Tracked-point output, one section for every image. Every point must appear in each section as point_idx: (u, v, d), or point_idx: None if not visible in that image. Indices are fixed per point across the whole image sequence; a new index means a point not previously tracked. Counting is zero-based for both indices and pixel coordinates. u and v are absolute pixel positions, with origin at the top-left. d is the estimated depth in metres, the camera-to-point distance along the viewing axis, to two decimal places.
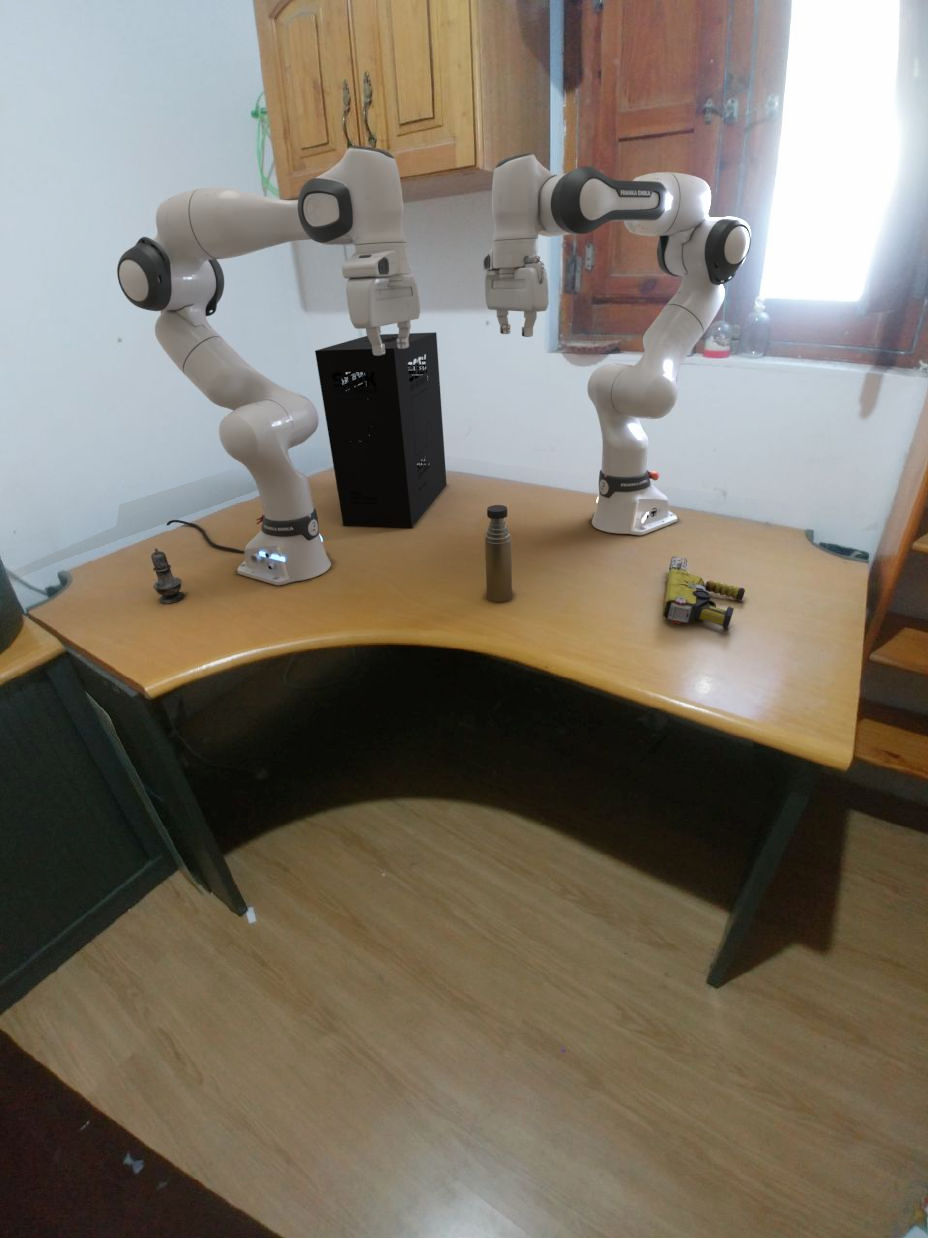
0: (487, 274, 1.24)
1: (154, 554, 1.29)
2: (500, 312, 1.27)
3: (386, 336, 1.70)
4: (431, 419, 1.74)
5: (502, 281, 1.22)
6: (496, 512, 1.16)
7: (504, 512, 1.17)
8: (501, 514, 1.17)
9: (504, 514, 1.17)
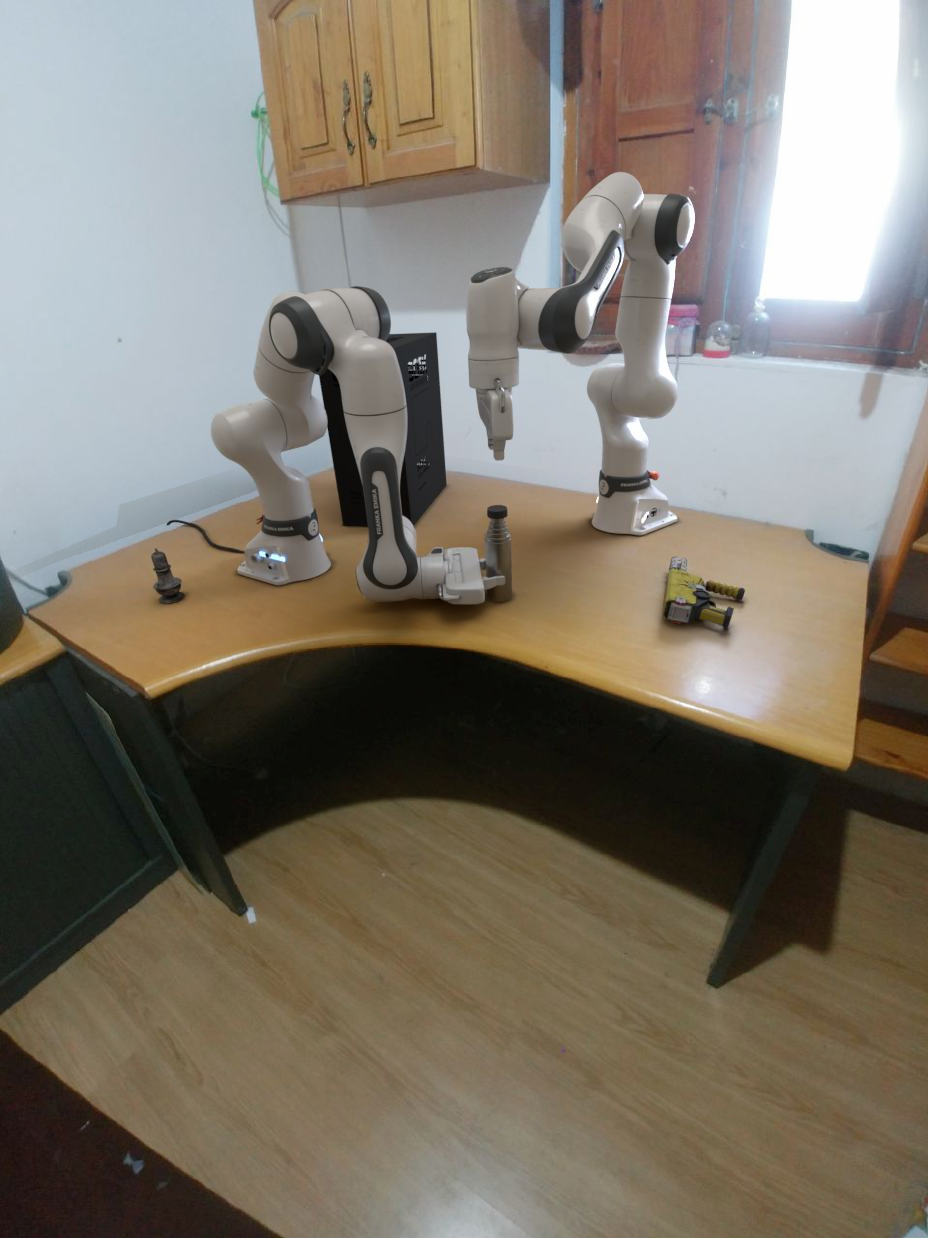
0: None
1: (154, 554, 1.29)
2: None
3: None
4: (431, 419, 1.74)
5: None
6: (496, 512, 1.16)
7: (504, 512, 1.17)
8: (501, 514, 1.17)
9: (504, 514, 1.17)
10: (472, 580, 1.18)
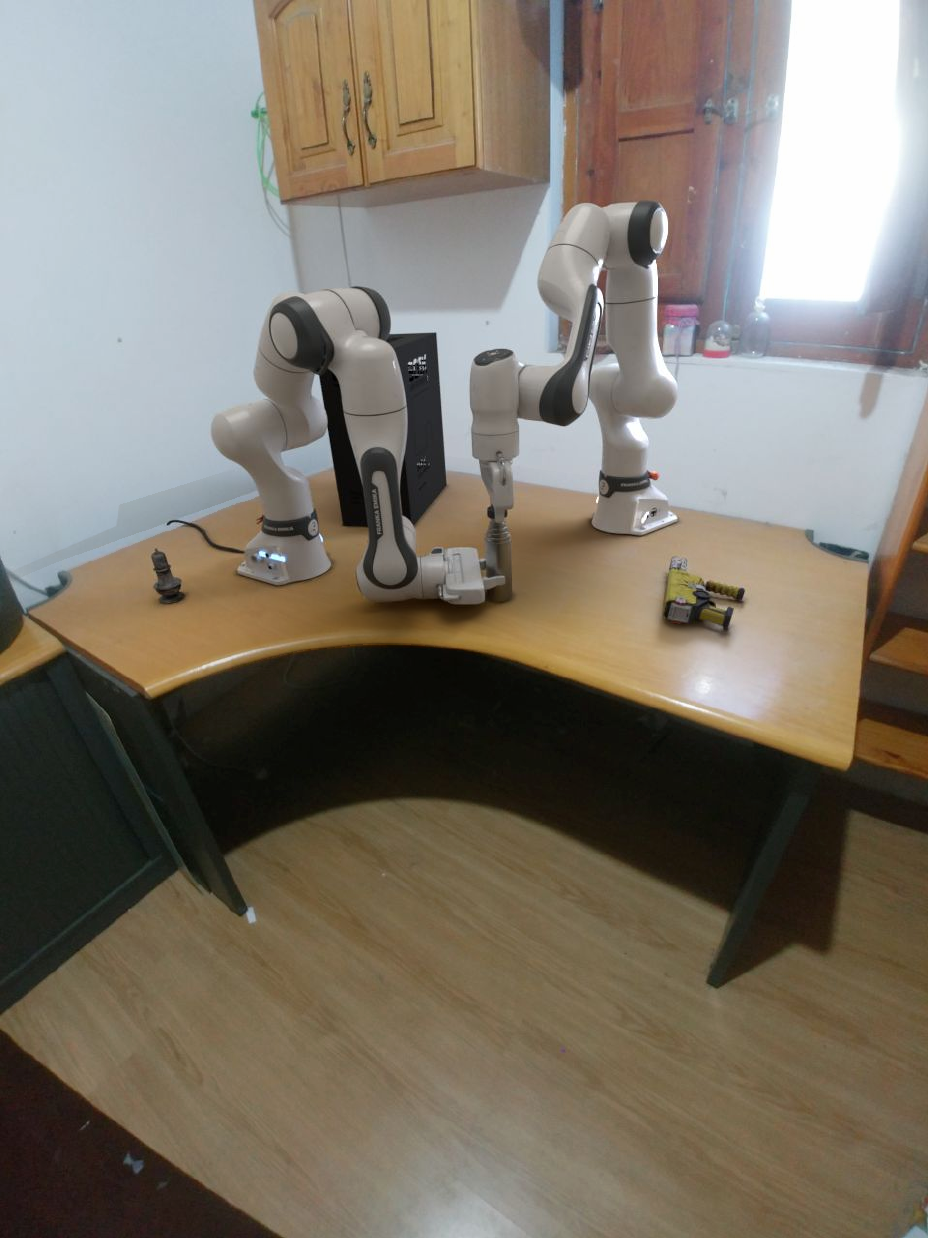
0: None
1: (154, 554, 1.29)
2: None
3: None
4: (431, 419, 1.74)
5: None
6: None
7: None
8: None
9: (504, 514, 1.17)
10: (472, 580, 1.18)
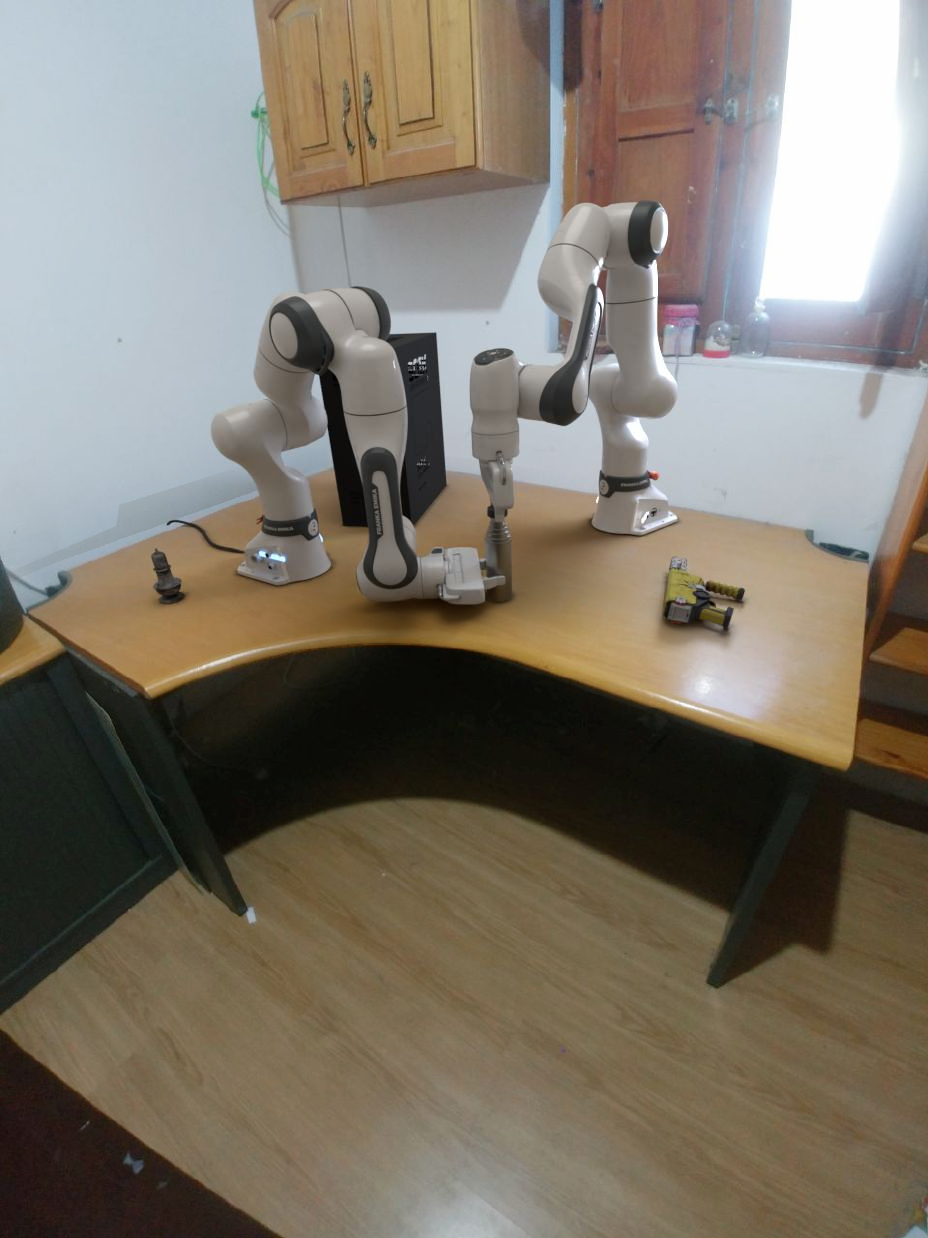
0: None
1: (154, 554, 1.29)
2: None
3: None
4: (431, 419, 1.74)
5: None
6: None
7: None
8: None
9: None
10: (472, 580, 1.18)
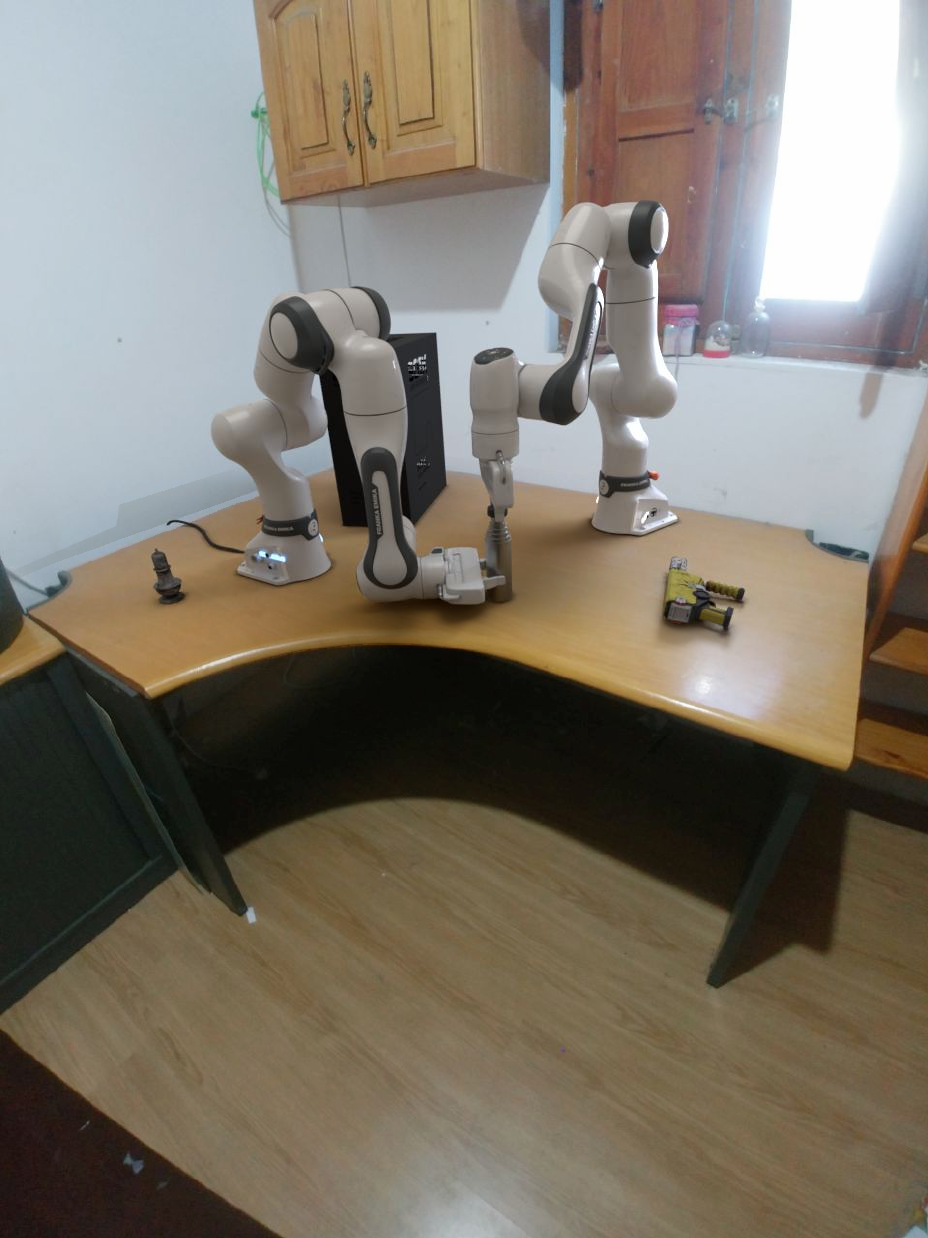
0: None
1: (154, 554, 1.29)
2: None
3: None
4: (431, 419, 1.74)
5: None
6: None
7: None
8: None
9: None
10: (472, 580, 1.18)
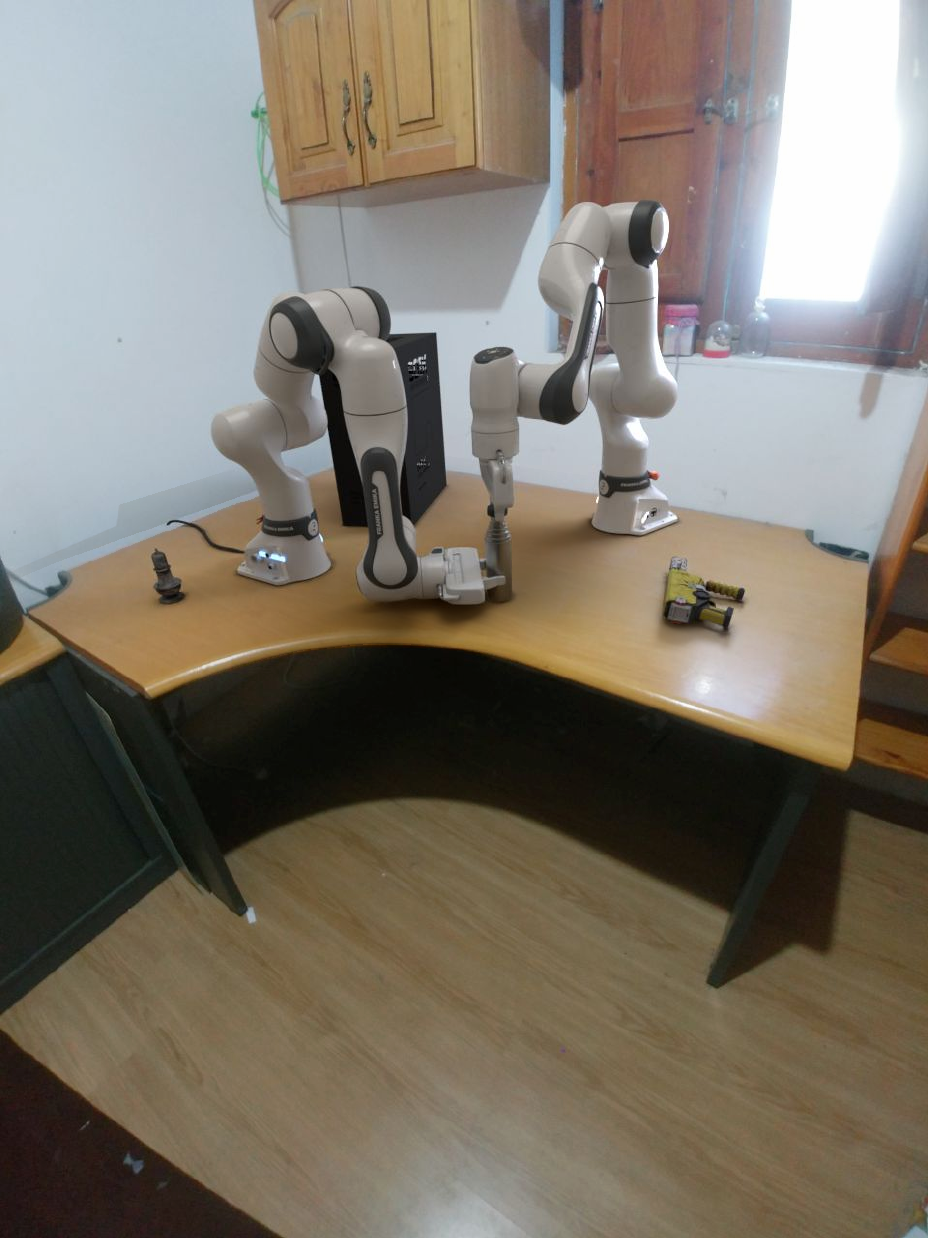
0: None
1: (154, 554, 1.29)
2: None
3: None
4: (431, 419, 1.74)
5: None
6: None
7: (489, 511, 1.17)
8: (488, 511, 1.18)
9: (489, 513, 1.17)
10: (472, 580, 1.18)
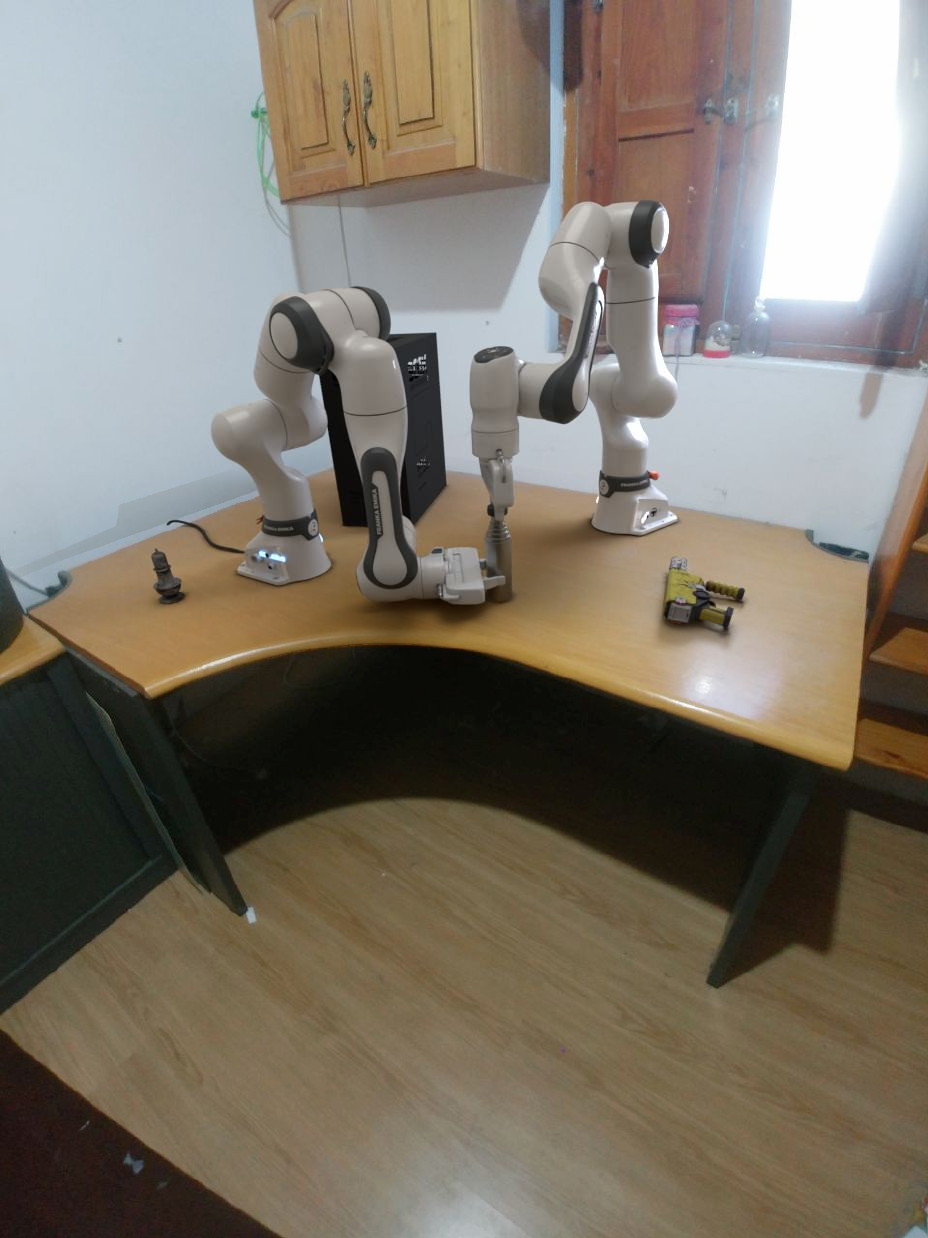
0: None
1: (154, 554, 1.29)
2: None
3: None
4: (431, 419, 1.74)
5: None
6: None
7: None
8: None
9: None
10: (472, 580, 1.18)
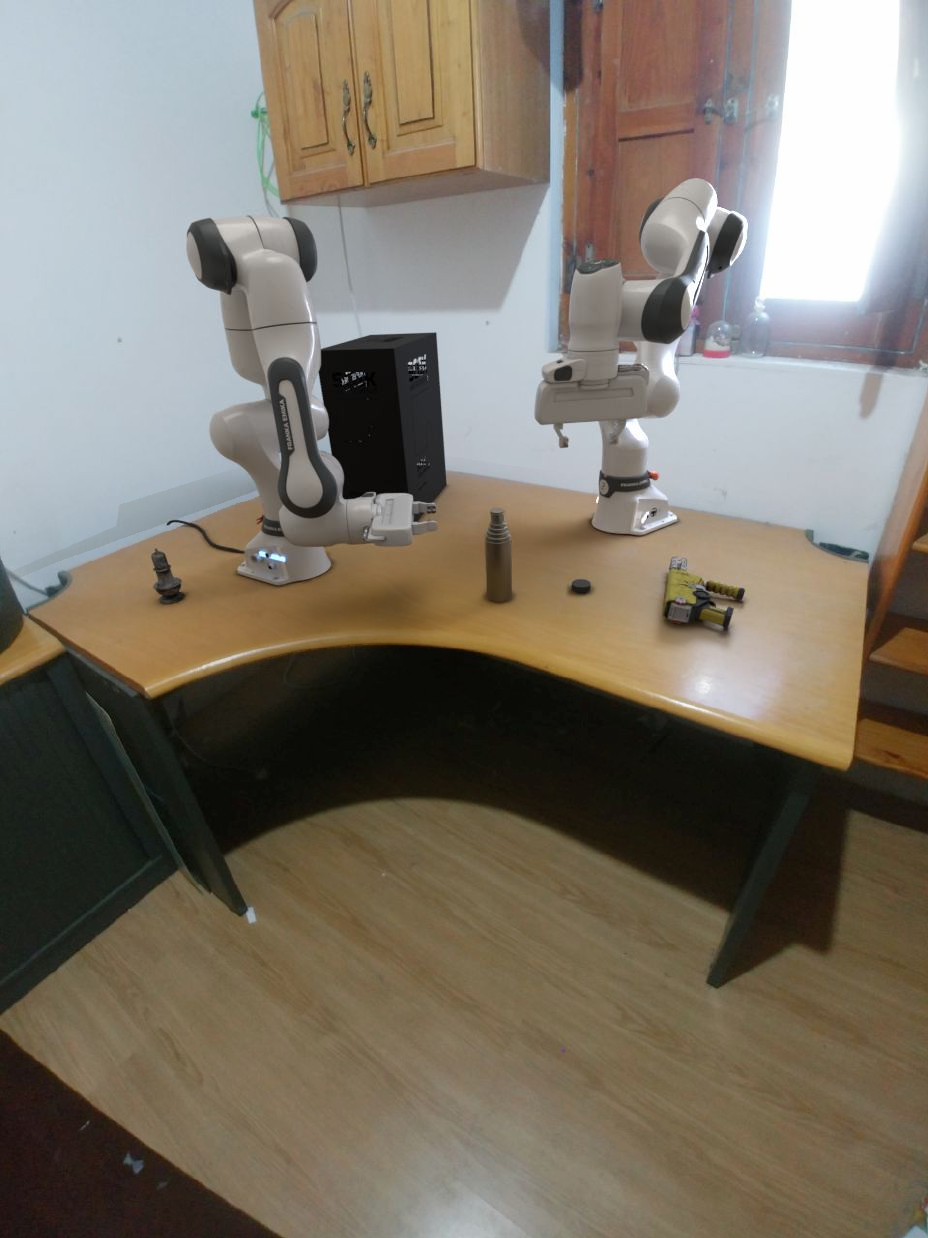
0: (554, 387, 1.05)
1: (154, 554, 1.29)
2: None
3: (386, 336, 1.70)
4: (431, 419, 1.74)
5: (578, 392, 1.07)
6: (590, 584, 1.27)
7: None
8: None
9: None
10: (399, 521, 1.11)
